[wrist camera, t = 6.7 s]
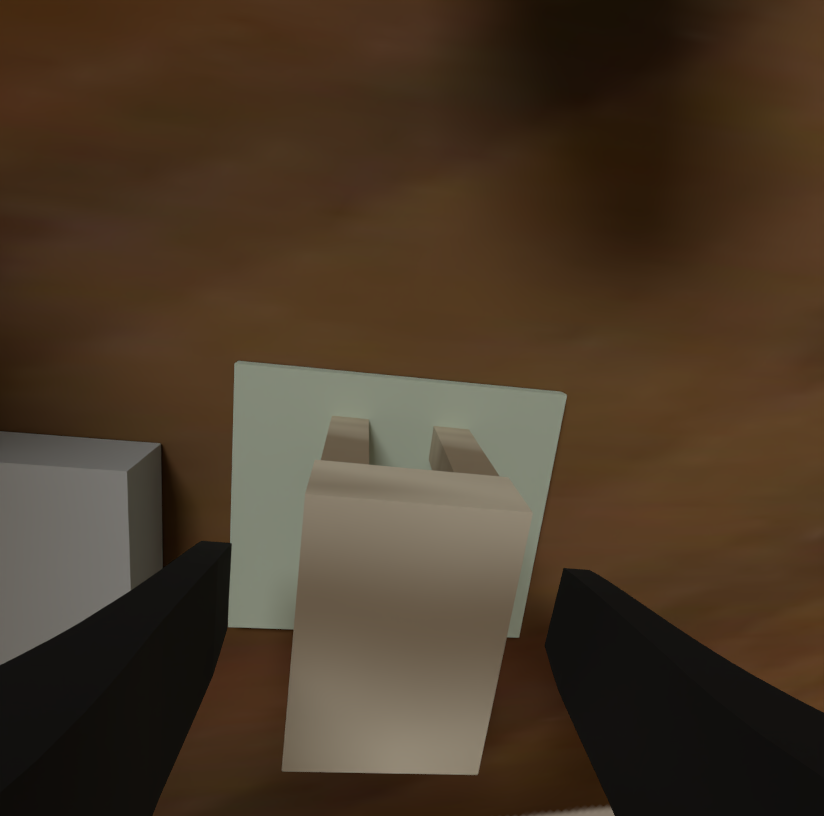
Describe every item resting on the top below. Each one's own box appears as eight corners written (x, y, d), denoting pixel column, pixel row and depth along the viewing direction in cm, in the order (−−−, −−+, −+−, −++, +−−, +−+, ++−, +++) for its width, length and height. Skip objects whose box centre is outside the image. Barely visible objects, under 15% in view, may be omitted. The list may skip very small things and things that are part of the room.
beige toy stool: (441, 610, 15) (477, 774, 10) (310, 603, 15) (281, 771, 10) (472, 426, 14) (532, 512, 9) (328, 411, 13) (305, 493, 8)
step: (-123, 421, 13) (-211, 447, 11) (161, 443, 14) (127, 471, 12) (-91, 620, 14) (-162, 674, 12) (163, 629, 15) (133, 681, 13)
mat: (238, 360, 13) (234, 363, 13) (561, 391, 14) (567, 395, 14) (231, 617, 15) (227, 626, 15) (515, 629, 16) (518, 637, 16)
